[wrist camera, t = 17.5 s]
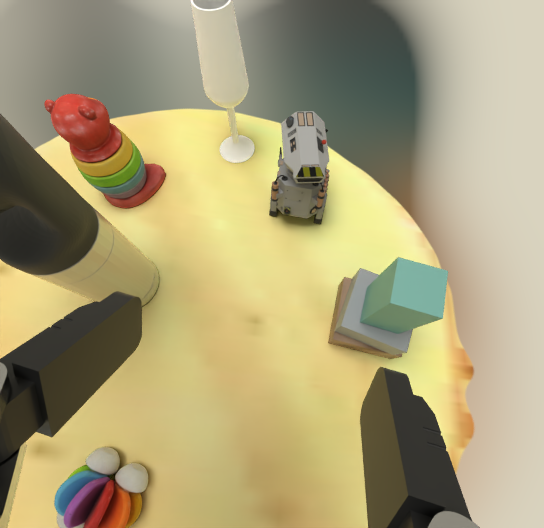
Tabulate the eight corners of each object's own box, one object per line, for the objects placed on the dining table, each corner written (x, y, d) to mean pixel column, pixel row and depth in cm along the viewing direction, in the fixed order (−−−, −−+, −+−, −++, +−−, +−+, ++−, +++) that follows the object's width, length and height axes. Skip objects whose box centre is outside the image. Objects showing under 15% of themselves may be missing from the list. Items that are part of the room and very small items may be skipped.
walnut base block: (327, 342, 44) (333, 339, 40) (338, 286, 47) (344, 277, 43) (389, 358, 43) (401, 356, 39) (396, 299, 46) (408, 292, 42)
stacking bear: (169, 170, 55) (123, 80, 38) (146, 216, 51) (84, 139, 35) (117, 157, 56) (50, 64, 40) (91, 201, 53) (5, 120, 36)
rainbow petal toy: (125, 549, 35) (89, 590, 29) (60, 507, 37) (11, 536, 30) (163, 472, 38) (138, 493, 31) (101, 436, 40) (65, 449, 33)
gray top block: (334, 331, 40) (340, 325, 36) (352, 278, 42) (360, 268, 38) (392, 355, 39) (406, 352, 34) (407, 299, 41) (422, 291, 37)
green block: (359, 322, 36) (390, 302, 26) (366, 287, 37) (398, 257, 28) (397, 333, 35) (442, 318, 26) (403, 297, 37) (448, 271, 27)
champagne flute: (234, 169, 55) (205, 24, 32) (212, 147, 57) (170, -3, 34) (262, 149, 56) (252, -2, 34) (239, 129, 58) (216, -27, 36)
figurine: (328, 177, 54) (347, 107, 40) (319, 233, 50) (335, 176, 36) (279, 169, 55) (280, 97, 41) (266, 223, 51) (262, 164, 37)
